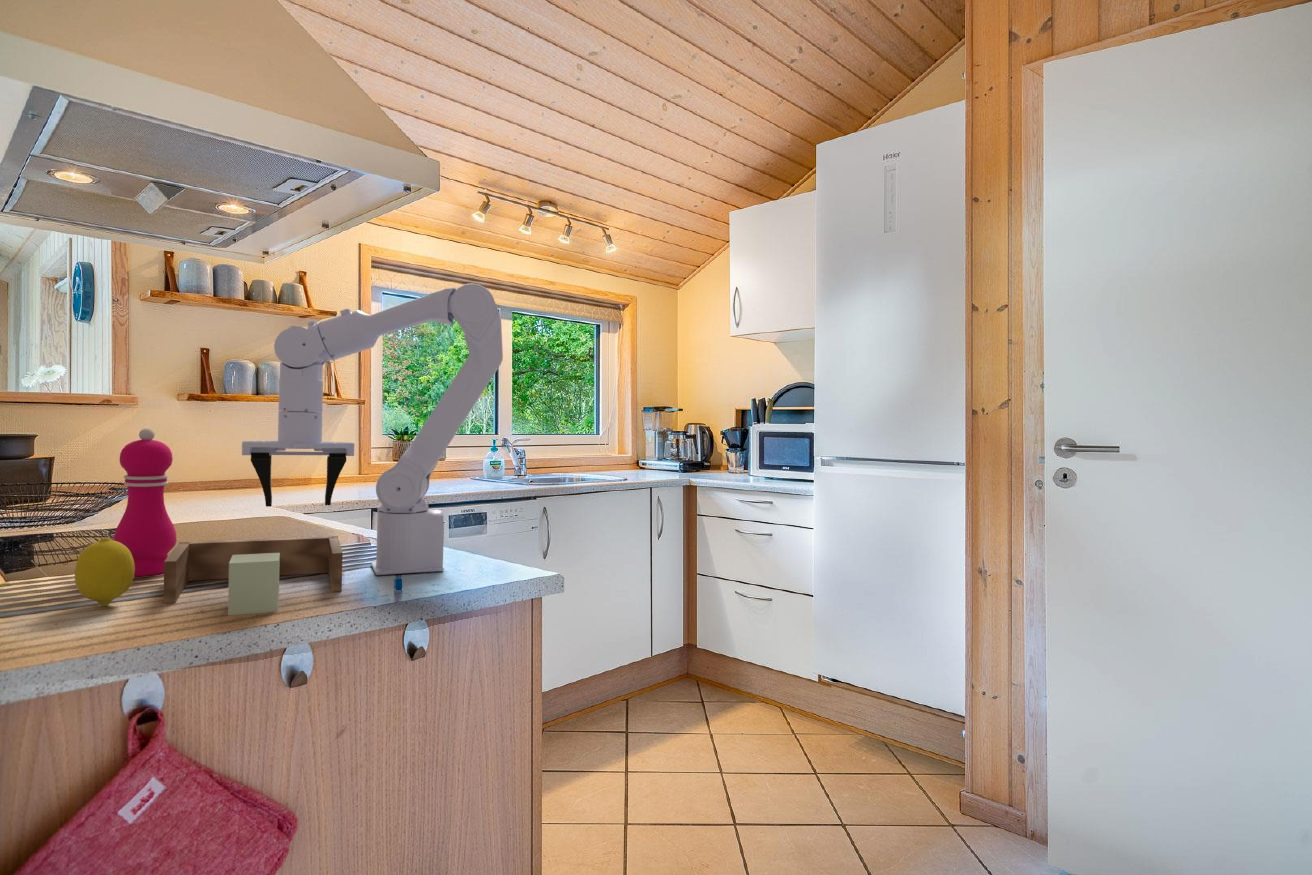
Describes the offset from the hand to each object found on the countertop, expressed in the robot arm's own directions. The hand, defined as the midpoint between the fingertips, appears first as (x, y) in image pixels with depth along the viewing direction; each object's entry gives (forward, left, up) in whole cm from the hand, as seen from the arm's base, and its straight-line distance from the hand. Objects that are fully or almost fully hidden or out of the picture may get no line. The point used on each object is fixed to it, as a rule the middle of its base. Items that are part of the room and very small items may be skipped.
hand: (298, 505), depth 104 cm
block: (+4, +20, -10) cm, 23 cm away
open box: (+4, +9, -9) cm, 14 cm away
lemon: (+20, +14, -10) cm, 26 cm away
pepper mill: (+19, -4, -10) cm, 22 cm away
